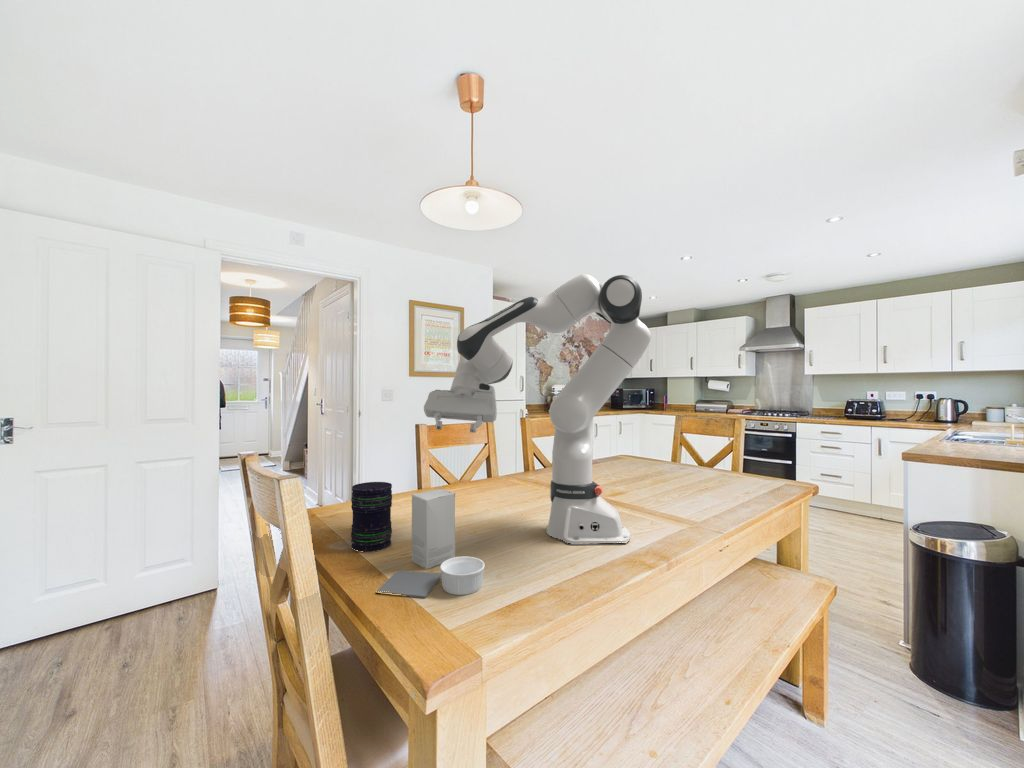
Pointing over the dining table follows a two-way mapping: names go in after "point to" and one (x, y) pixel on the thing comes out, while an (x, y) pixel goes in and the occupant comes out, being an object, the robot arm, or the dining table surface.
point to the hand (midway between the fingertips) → (455, 429)
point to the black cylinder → (371, 516)
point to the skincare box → (433, 527)
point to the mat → (411, 583)
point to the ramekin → (462, 575)
